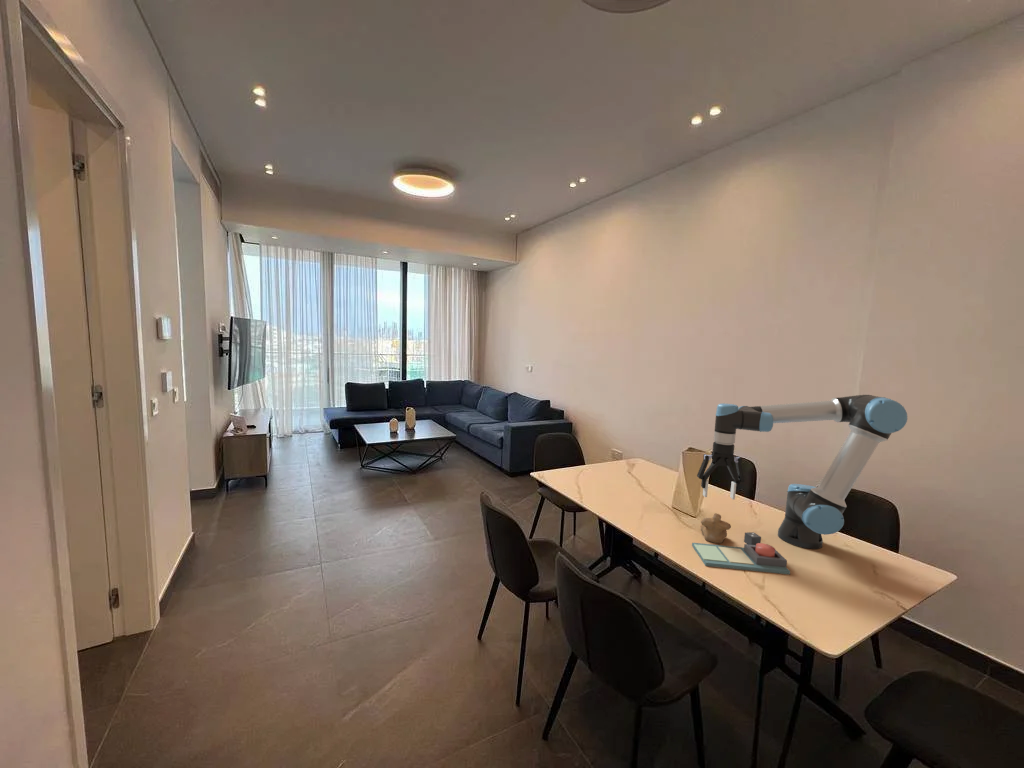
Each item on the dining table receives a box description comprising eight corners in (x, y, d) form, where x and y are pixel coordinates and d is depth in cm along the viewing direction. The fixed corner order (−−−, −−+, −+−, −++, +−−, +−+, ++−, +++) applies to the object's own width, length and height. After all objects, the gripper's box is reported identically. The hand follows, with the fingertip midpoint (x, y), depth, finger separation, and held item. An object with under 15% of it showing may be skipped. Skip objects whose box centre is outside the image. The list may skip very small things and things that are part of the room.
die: (752, 541, 166) (753, 531, 166) (760, 546, 162) (761, 536, 162) (743, 542, 165) (745, 532, 165) (751, 546, 161) (752, 536, 161)
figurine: (726, 536, 170) (732, 507, 164) (726, 552, 162) (733, 522, 156) (698, 529, 174) (703, 500, 168) (697, 544, 167) (702, 514, 161)
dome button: (768, 554, 153) (770, 544, 152) (777, 562, 147) (778, 552, 146) (751, 552, 153) (753, 542, 153) (759, 560, 147) (760, 550, 147)
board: (768, 552, 157) (769, 543, 157) (789, 574, 142) (791, 564, 142) (691, 545, 160) (692, 536, 160) (705, 565, 145) (706, 555, 145)
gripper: (749, 442, 165) (743, 496, 167) (691, 438, 167) (686, 491, 169) (758, 447, 157) (752, 503, 160) (697, 442, 160) (692, 498, 162)
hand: (718, 497), depth 164 cm, fingers open, 10 cm apart
